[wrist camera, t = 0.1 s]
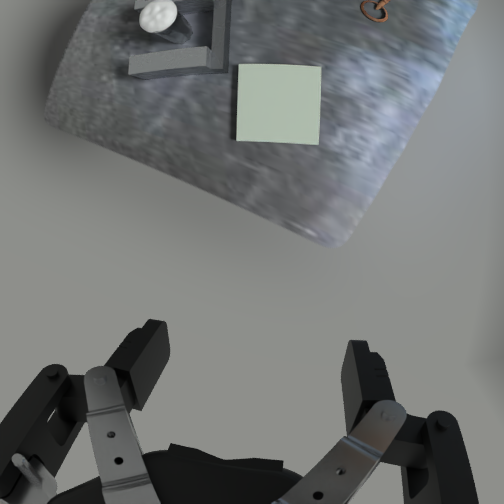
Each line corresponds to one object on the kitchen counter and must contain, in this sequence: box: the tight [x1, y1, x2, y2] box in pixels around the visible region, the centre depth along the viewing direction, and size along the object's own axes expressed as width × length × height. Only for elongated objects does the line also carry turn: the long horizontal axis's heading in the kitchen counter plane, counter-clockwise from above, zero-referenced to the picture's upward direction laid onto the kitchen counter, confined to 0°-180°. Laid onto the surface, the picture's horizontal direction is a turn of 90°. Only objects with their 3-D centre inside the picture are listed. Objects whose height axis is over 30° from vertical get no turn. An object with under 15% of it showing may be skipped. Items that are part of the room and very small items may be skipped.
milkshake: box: [139, 0, 193, 44], centre depth 29 cm, size 4×5×10 cm
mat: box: [236, 64, 321, 145], centre depth 35 cm, size 10×10×1 cm
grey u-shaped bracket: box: [128, 0, 232, 80], centre depth 31 cm, size 12×12×5 cm
